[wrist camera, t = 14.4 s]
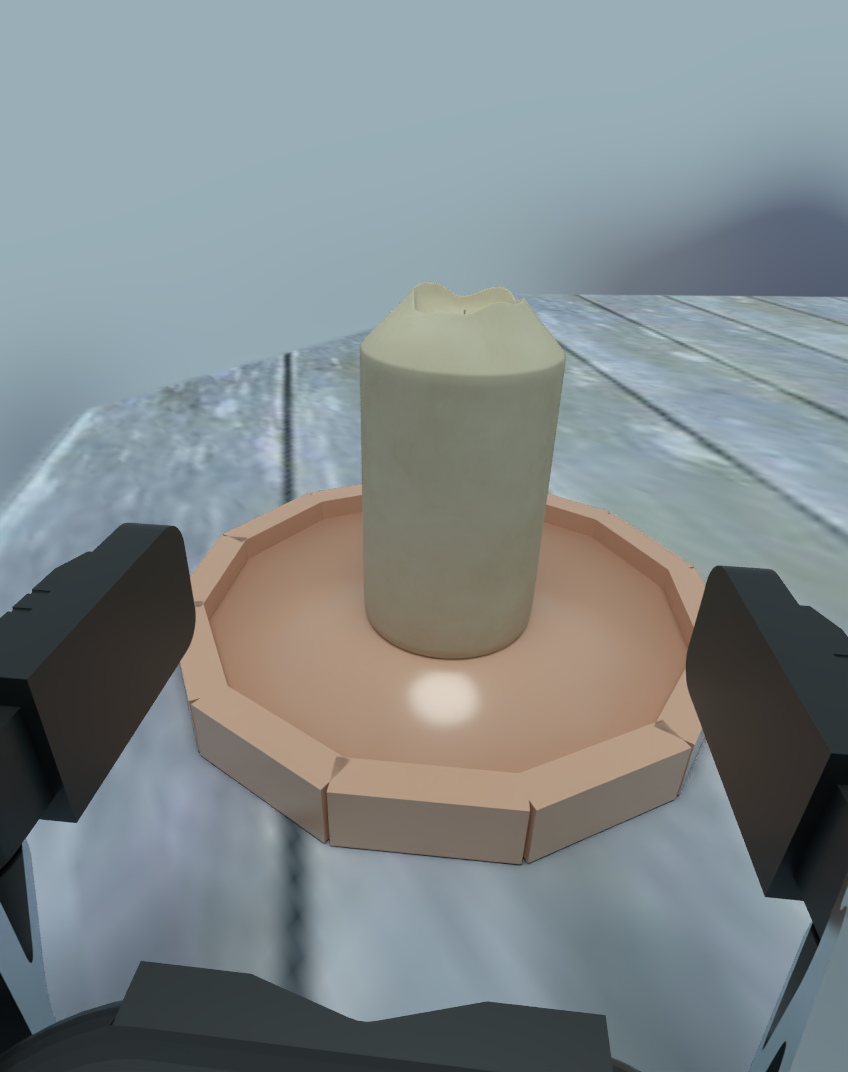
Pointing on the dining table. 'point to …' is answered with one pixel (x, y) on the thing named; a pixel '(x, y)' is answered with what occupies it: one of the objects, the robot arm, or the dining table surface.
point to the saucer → (444, 689)
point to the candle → (456, 468)
